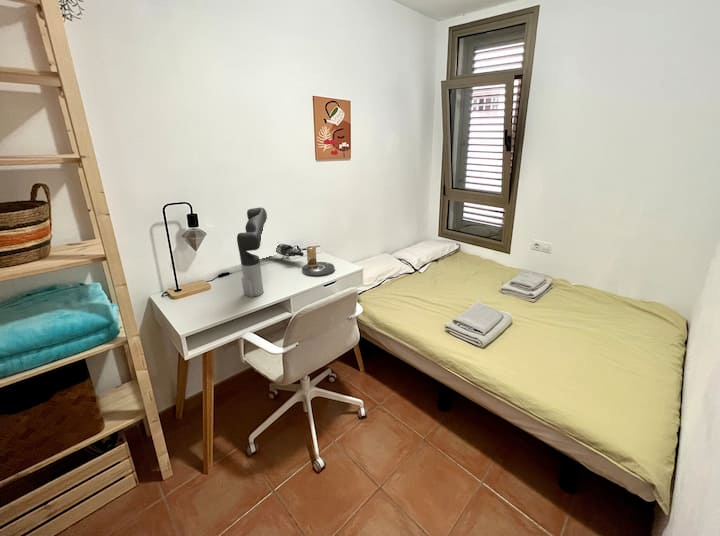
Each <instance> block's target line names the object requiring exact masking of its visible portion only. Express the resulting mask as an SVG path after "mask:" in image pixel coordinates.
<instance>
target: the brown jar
mask: <svg viewBox="0 0 720 536" xmlns="http://www.w3.org/2000/svg"><path fill="white" fill-rule="evenodd" d="M316 249H317V246H313V245H310V246H306V257H307V263H306V264H307V267H309V268H313V267H317V266H318V263H317V262H318V260H317V250H316Z"/></svg>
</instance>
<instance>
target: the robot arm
mask: <svg viewBox="0 0 720 536" xmlns="http://www.w3.org/2000/svg"><path fill="white" fill-rule="evenodd" d="M246 216H247V222H246V225H245V226H244V227H245V228H244V229H245V232H239V233H237V236H236V242H237V248H238V253H239V258H240V263H241V264H240V265H241V271H242V278H241V283H242V290H243V295H244V296H247V297H249V298H253V297H258V296H260V295H263V294H264V286H263V285H264V284H263V277H262V269H261V261H260V257H259V256H258V255H257V254H254V253H253V254H252V253H250V251H257V250H259V249H260V248H261V243H262V242H261V234H262V231H263V227H265V223H266V221H267V219H268V217H267V216H268V215H267V211H266V209H265V208H264V207H253V208H249V209H247V212H246ZM276 252H277V253H276V254H279V255H280V256H281V255H282V256H285V257H297V256H299V257H303V256H304V255H305V254H304V252H302V250H301V247H299V248H294V247H293V245H290V244H286V243H281V244H279V245H278V246H277V248H276Z"/></svg>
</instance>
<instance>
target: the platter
mask: <svg viewBox="0 0 720 536" xmlns="http://www.w3.org/2000/svg"><path fill="white" fill-rule="evenodd" d="M317 263H318V266H317V267H313V268H309V267H307V263H306V264H304V265H303V266H302V268H301V273H302V274H303V275H306V276H310V277H322V276H328V275H330V274H332V273H334V271H335V265H334V264H332V263H331V262H327V261H317Z"/></svg>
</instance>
